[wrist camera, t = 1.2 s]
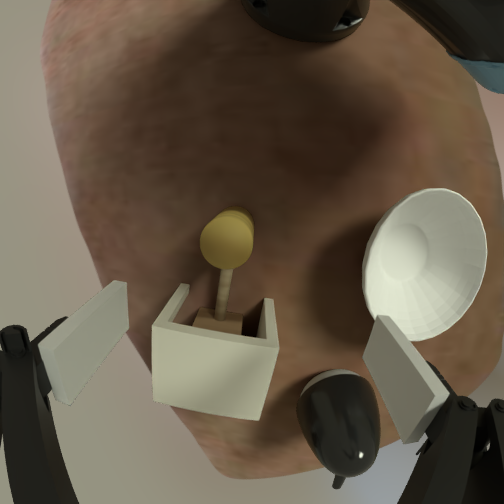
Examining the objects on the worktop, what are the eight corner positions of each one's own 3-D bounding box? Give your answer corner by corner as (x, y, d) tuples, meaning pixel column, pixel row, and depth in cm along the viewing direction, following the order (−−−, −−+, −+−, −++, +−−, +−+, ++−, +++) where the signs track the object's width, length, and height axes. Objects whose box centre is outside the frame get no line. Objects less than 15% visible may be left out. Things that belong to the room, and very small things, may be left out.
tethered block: (214, 202, 30) (197, 211, 21) (261, 210, 30) (264, 223, 21) (196, 342, 34) (180, 389, 25) (236, 349, 34) (231, 398, 25)
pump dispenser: (285, 410, 37) (293, 497, 22) (304, 353, 34) (327, 447, 19) (349, 412, 37) (375, 490, 22) (375, 359, 34) (420, 439, 20)
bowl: (319, 223, 30) (337, 236, 23) (430, 163, 28) (466, 162, 21) (369, 335, 33) (389, 366, 27) (463, 275, 31) (494, 292, 24)
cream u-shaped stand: (181, 283, 32) (152, 325, 22) (273, 299, 32) (279, 348, 22) (176, 348, 34) (153, 401, 24) (258, 362, 34) (258, 420, 25)
